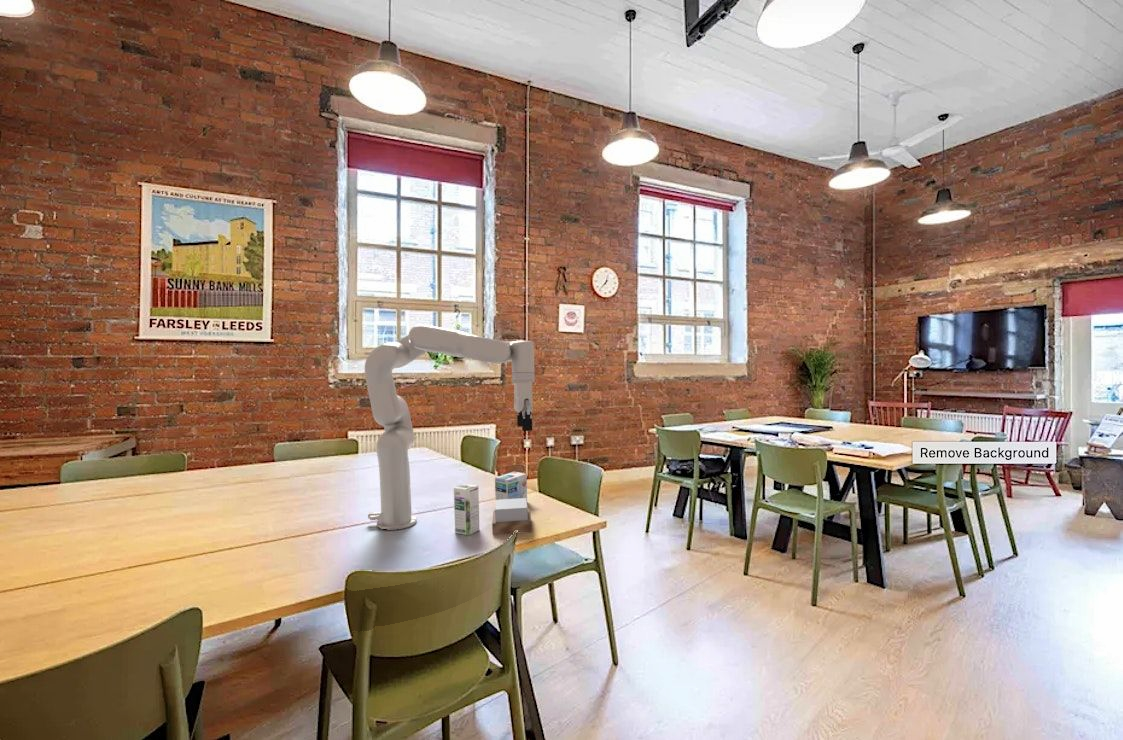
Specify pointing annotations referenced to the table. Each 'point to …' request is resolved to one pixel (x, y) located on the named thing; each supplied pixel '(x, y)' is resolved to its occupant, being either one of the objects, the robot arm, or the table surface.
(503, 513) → the grey slab
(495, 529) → the walnut slab
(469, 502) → the syrup box
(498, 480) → the light bulb box
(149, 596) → the table surface
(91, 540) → the table surface
